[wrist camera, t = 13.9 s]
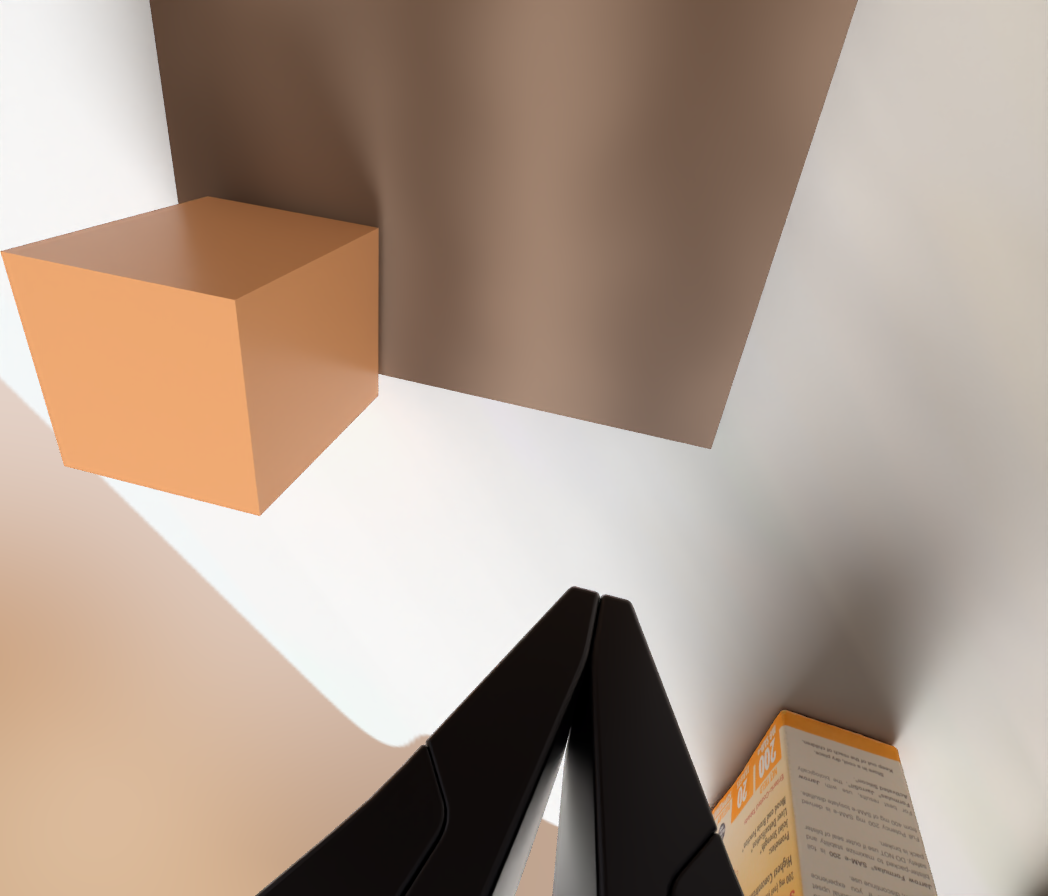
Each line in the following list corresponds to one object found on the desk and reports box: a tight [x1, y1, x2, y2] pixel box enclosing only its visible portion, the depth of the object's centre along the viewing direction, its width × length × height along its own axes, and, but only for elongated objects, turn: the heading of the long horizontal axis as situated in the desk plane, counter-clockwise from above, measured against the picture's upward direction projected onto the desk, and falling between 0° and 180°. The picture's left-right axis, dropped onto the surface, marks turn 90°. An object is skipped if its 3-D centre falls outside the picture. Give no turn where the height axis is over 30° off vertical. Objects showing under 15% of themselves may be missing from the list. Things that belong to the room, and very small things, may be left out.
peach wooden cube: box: [1, 196, 379, 516], centre depth 17 cm, size 5×5×7 cm
